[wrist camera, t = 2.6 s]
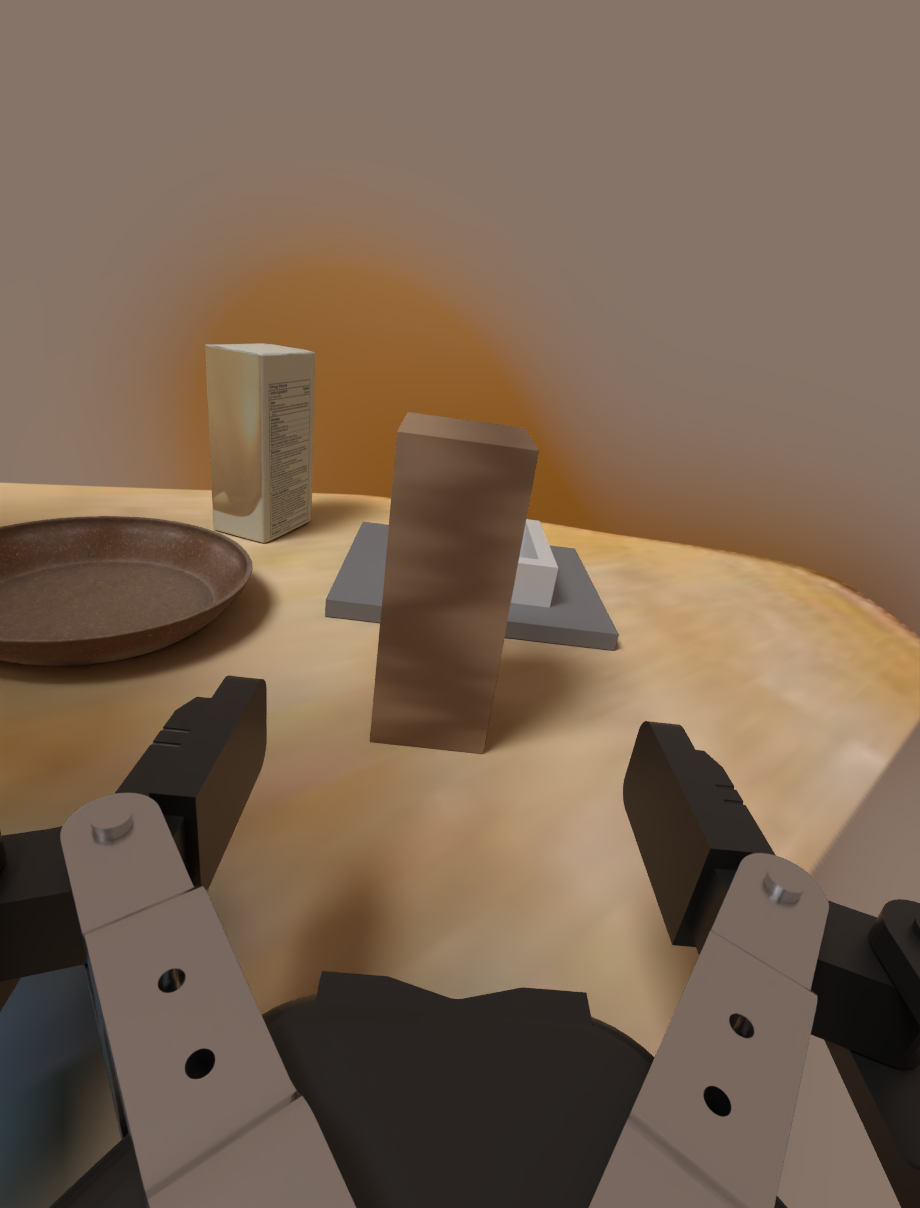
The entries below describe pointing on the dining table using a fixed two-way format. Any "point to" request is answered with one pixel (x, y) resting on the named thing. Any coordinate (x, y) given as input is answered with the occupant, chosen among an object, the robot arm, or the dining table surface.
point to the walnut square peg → (449, 578)
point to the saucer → (110, 587)
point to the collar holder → (539, 601)
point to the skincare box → (260, 438)
